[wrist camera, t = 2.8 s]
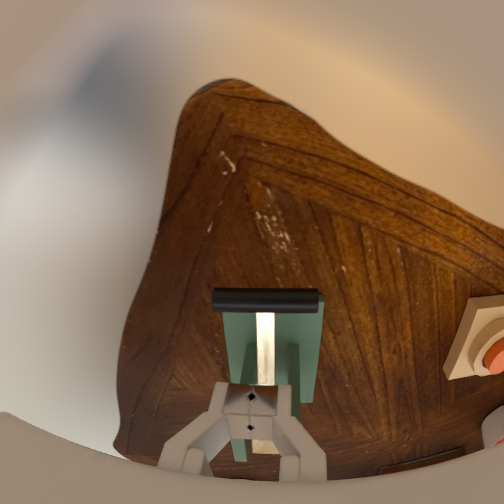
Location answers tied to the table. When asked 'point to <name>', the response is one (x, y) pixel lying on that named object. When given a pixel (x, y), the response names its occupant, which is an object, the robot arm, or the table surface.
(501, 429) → the white round tub
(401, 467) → the book
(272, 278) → the table surface
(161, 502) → the robot arm
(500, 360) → the button
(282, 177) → the table surface
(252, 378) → the green lever stand
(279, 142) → the table surface
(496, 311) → the call button
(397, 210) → the table surface
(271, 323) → the lever handle
